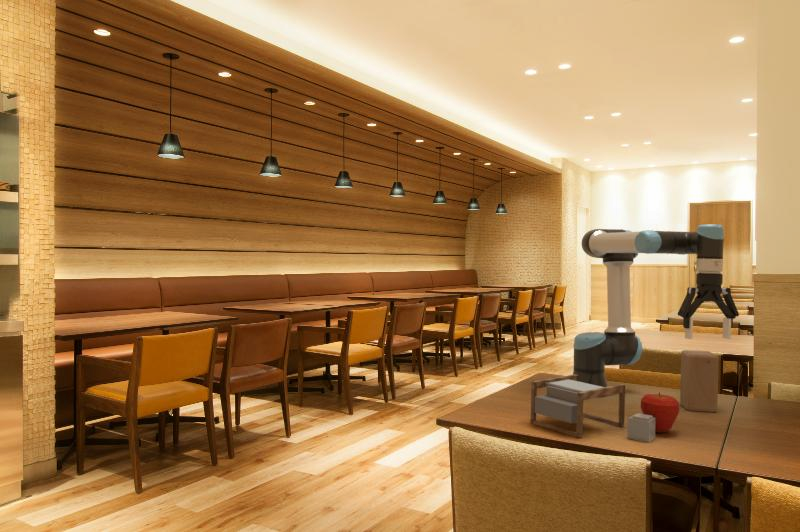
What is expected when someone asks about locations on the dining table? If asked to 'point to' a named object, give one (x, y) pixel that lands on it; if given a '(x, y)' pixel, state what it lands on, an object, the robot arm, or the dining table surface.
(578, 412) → the wooden rack
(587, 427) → the dining table surface
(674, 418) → the apple
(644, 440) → the stone
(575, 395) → the grey angular block
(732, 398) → the dining table surface
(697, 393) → the wooden block
